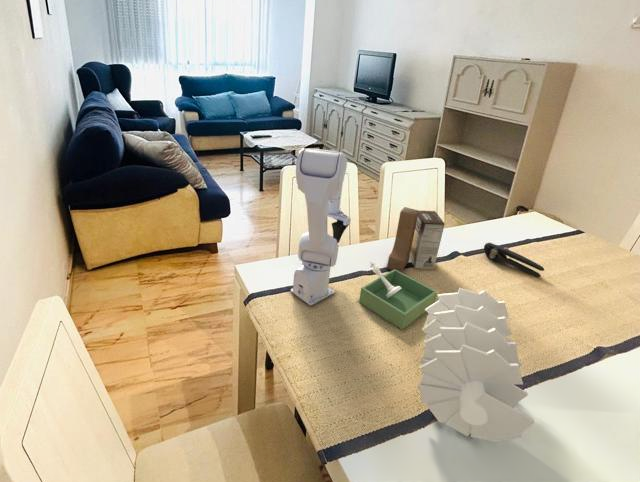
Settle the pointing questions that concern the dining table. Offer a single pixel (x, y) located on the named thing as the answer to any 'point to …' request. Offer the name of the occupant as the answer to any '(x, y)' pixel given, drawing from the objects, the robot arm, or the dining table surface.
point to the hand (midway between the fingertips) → (326, 237)
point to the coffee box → (426, 240)
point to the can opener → (500, 254)
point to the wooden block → (403, 239)
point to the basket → (398, 298)
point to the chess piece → (385, 282)
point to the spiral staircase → (472, 367)
